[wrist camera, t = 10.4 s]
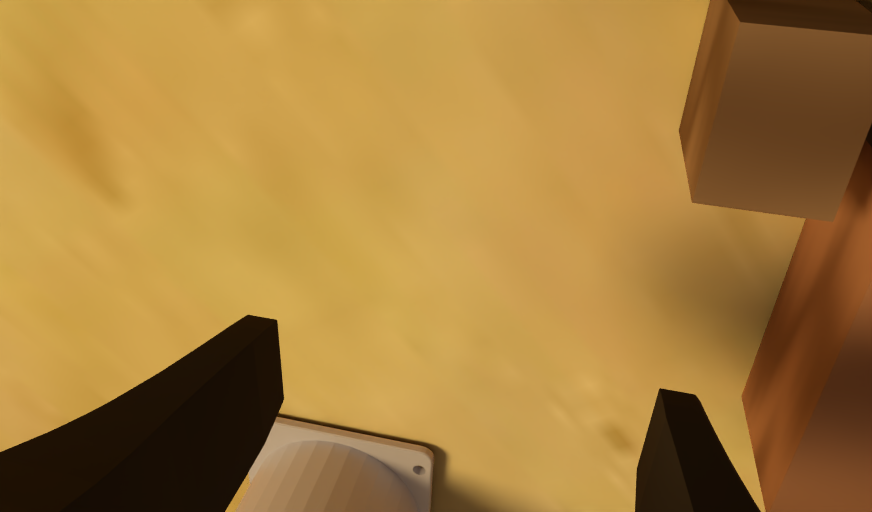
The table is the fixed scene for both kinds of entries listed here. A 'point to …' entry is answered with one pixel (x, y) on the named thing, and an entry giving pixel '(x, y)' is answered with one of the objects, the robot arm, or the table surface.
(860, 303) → the brown boxy piece
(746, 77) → the board
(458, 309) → the table surface
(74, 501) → the robot arm
